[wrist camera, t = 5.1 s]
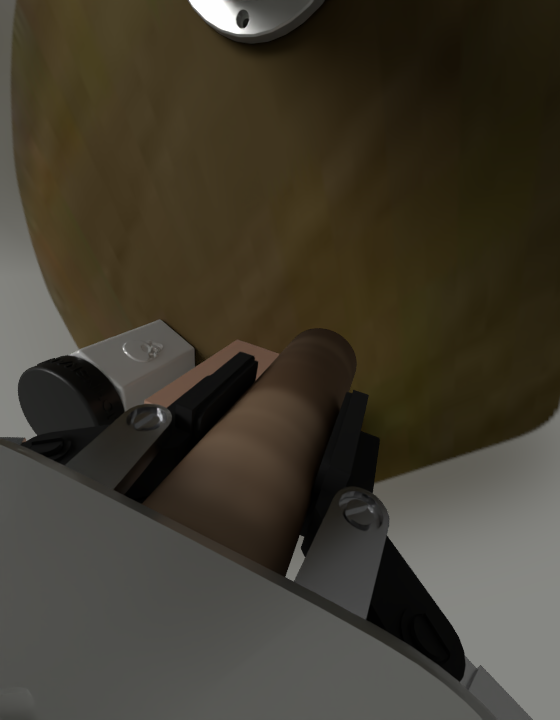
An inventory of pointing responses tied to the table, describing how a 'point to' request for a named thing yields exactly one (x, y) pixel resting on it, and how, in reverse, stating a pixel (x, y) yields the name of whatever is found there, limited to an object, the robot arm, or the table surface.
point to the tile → (210, 371)
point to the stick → (264, 454)
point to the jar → (103, 379)
